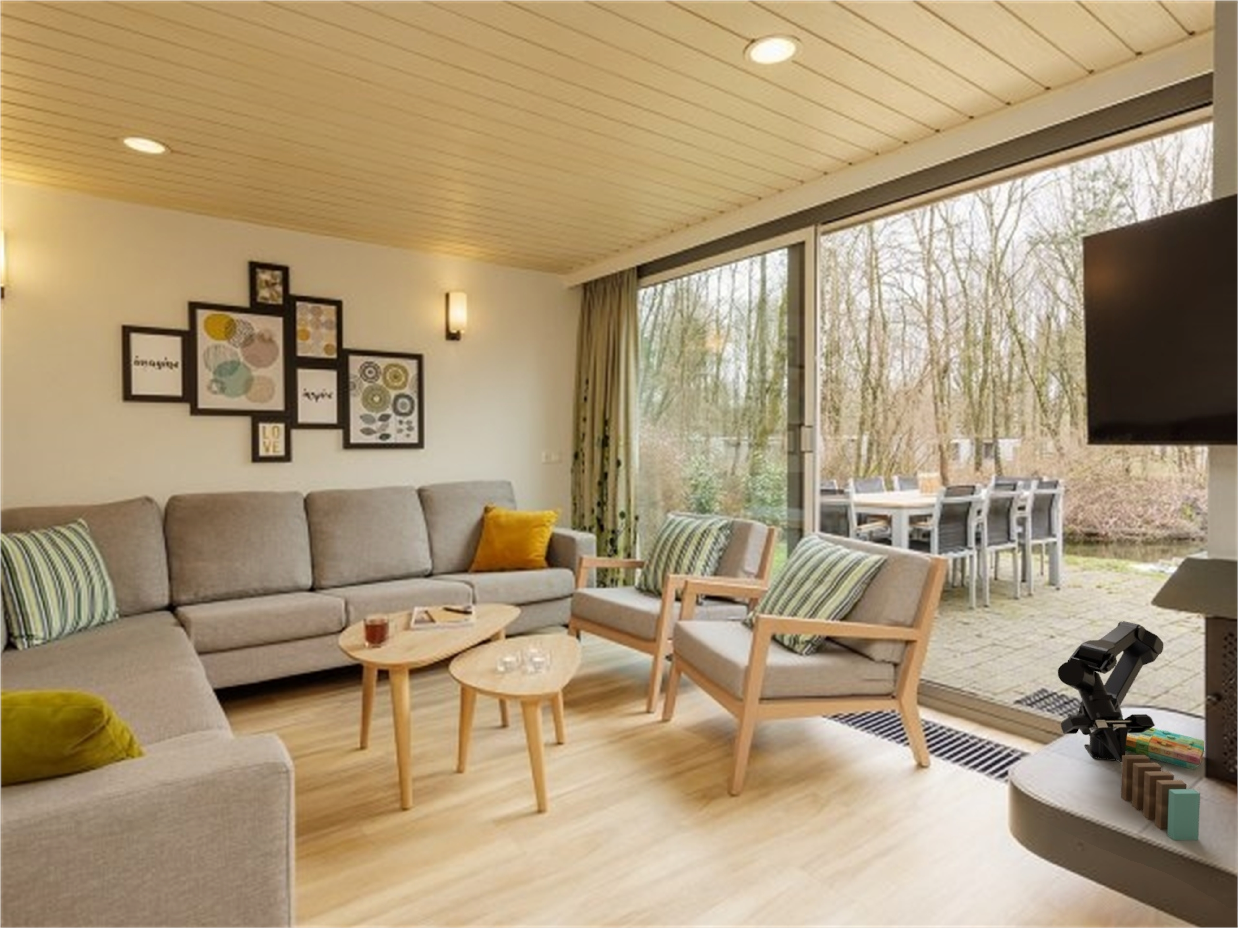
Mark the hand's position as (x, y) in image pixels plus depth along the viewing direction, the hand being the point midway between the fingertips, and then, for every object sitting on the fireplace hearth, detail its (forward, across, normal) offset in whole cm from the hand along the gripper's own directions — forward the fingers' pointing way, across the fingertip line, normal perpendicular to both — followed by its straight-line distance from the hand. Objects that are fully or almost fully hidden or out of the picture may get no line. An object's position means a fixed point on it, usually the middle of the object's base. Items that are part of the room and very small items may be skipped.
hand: (1122, 761), depth 159 cm
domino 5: (+17, -1, +8) cm, 19 cm away
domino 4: (+14, -1, +5) cm, 15 cm away
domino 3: (+12, -1, +3) cm, 12 cm away
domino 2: (+10, -1, 0) cm, 10 cm away
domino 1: (+7, -1, -3) cm, 8 cm away
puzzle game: (-7, -20, -19) cm, 28 cm away
